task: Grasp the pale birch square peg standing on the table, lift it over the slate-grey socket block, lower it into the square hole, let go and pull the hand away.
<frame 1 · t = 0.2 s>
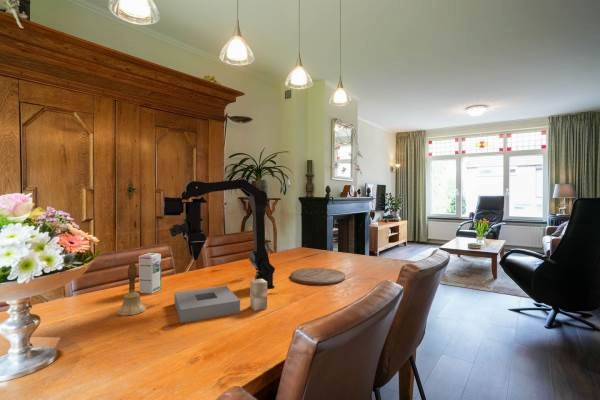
hand: (193, 257, 116), 15 cm above the table, fingers open, 9 cm apart
syrup box: (150, 291, 122), on the table
trivet: (317, 278, 144), on the table
hand bell: (131, 311, 102), on the table
birch peg: (258, 307, 106), on the table
socket block: (206, 308, 105), on the table
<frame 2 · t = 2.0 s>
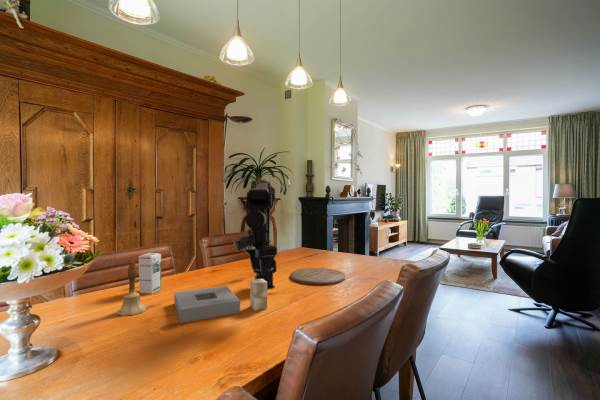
hand: (258, 272, 106), 12 cm above the table, fingers open, 9 cm apart
nothing on the table moved.
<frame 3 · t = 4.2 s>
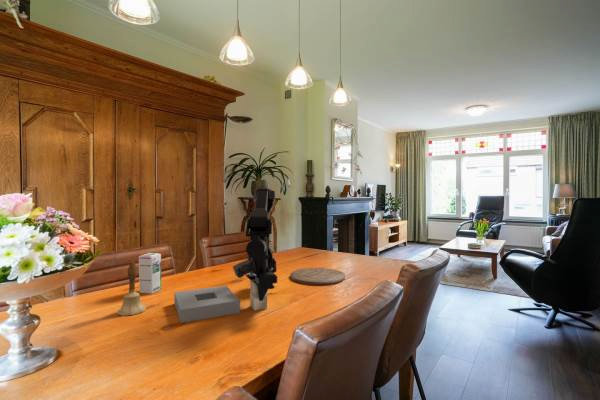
hand: (258, 298, 106), 3 cm above the table, fingers closed on birch peg, 4 cm apart
birch peg: (258, 307, 106), on the table, touching gripper
everything else where it was.
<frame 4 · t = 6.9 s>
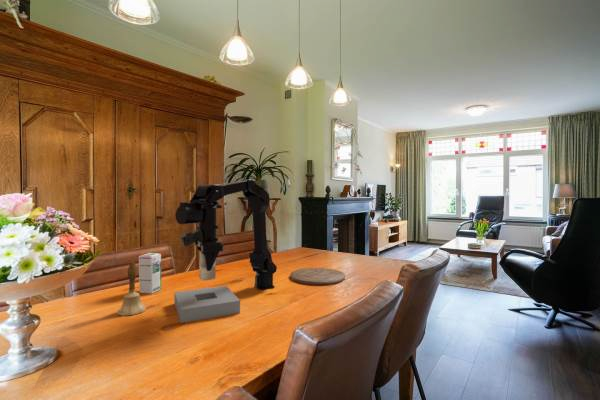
hand: (207, 269, 104), 13 cm above the table, fingers closed on birch peg, 4 cm apart
birch peg: (207, 278, 104), point 10 cm above the table, touching gripper
everything else where it was.
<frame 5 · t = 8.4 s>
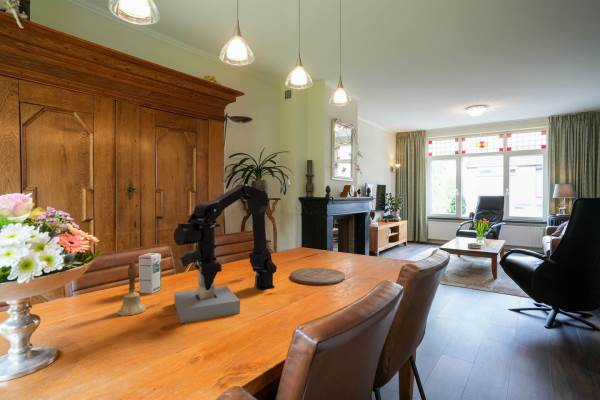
hand: (206, 288, 105), 7 cm above the table, fingers closed on birch peg, 4 cm apart
birch peg: (206, 297, 105), point 4 cm above the table, touching gripper
everything else where it was.
when the fingers open (5 cm above the table, at t = 9.6 s): birch peg drops 2 cm, resting in socket block.
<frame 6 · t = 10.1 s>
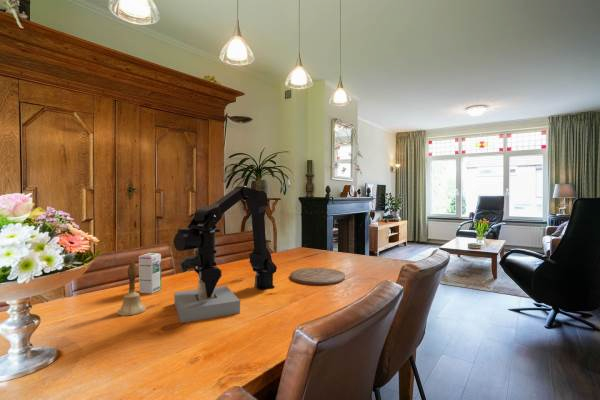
hand: (206, 293, 105), 5 cm above the table, fingers open, 9 cm apart
birch peg: (206, 308, 105), resting in socket block
everything else where it was.
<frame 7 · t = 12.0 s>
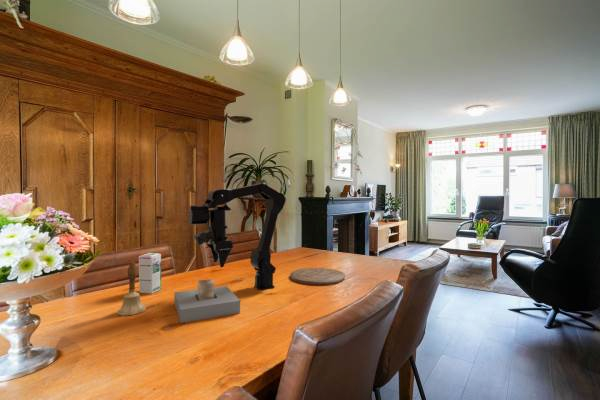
hand: (218, 264, 118), 12 cm above the table, fingers open, 9 cm apart
nothing on the table moved.
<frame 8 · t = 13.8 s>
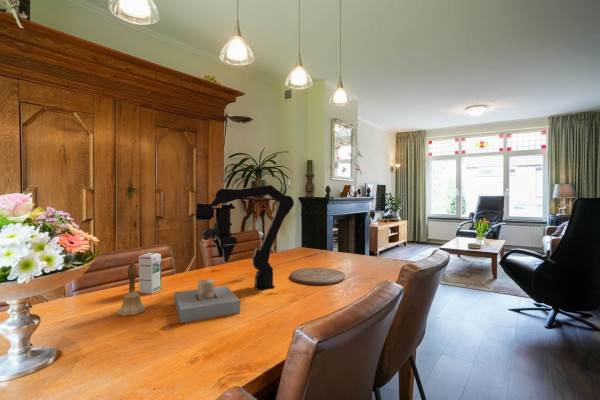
hand: (223, 259, 125), 12 cm above the table, fingers open, 9 cm apart
nothing on the table moved.
at the end: birch peg 0.1 cm off-centre on the socket block, point 0.0 cm above the socket block's base; birch peg tilted 0°; the gripper is holding nothing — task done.
